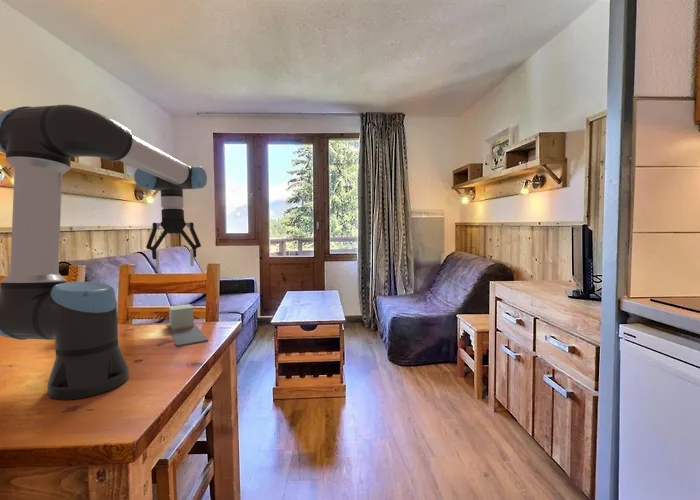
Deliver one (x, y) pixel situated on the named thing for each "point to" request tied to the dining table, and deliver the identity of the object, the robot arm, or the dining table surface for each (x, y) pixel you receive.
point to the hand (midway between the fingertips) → (175, 267)
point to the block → (181, 316)
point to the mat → (187, 335)
